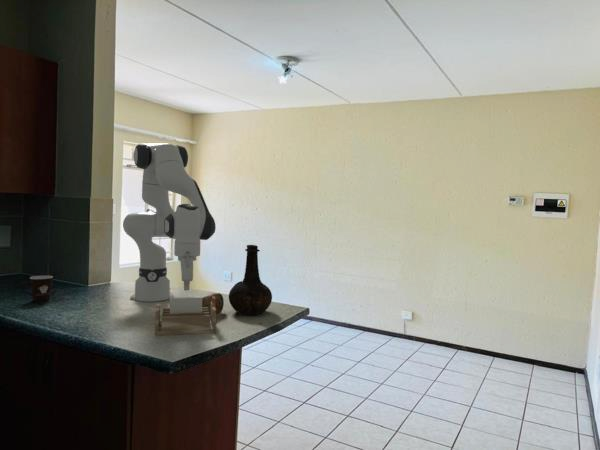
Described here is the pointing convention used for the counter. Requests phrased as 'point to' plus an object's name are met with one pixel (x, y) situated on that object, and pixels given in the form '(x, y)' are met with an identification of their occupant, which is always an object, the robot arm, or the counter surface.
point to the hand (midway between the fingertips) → (186, 289)
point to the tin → (218, 302)
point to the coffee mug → (40, 287)
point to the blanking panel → (186, 304)
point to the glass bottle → (250, 288)
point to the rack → (185, 321)
